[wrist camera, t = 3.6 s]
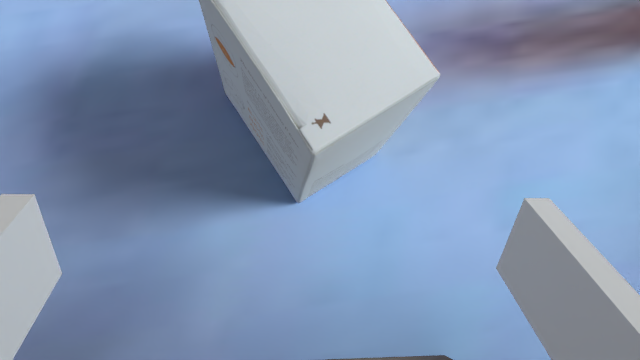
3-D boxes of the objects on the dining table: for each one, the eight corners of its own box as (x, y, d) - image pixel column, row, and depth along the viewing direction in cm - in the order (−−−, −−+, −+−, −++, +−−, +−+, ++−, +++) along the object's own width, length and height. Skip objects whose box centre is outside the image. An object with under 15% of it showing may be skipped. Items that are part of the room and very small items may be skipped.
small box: (376, 156, 25) (449, 78, 15) (296, 206, 24) (315, 159, 14) (302, 47, 26) (323, -96, 16) (222, 91, 25) (187, -34, 15)
